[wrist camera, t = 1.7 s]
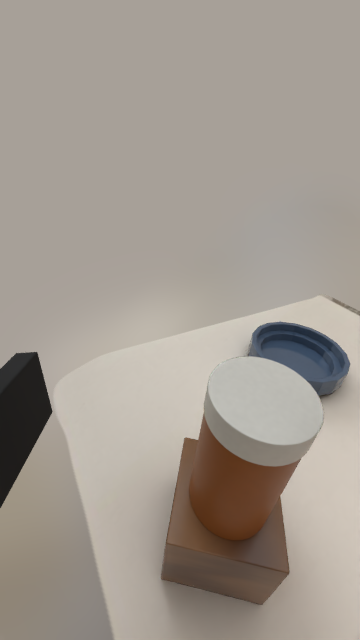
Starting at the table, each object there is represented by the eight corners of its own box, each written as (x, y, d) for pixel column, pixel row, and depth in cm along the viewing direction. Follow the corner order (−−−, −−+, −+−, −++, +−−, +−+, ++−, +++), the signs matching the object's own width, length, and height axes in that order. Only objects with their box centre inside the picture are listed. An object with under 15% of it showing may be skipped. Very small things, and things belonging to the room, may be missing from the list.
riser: (160, 578, 22) (165, 543, 18) (178, 478, 29) (184, 436, 25) (262, 605, 22) (290, 573, 18) (256, 495, 28) (275, 455, 24)
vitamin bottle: (171, 502, 21) (186, 399, 15) (212, 441, 25) (236, 343, 19) (250, 566, 18) (307, 472, 12) (280, 485, 22) (334, 387, 16)
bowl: (232, 368, 44) (237, 351, 42) (265, 328, 54) (270, 312, 52) (330, 417, 37) (341, 399, 35) (346, 361, 48) (355, 344, 46)
